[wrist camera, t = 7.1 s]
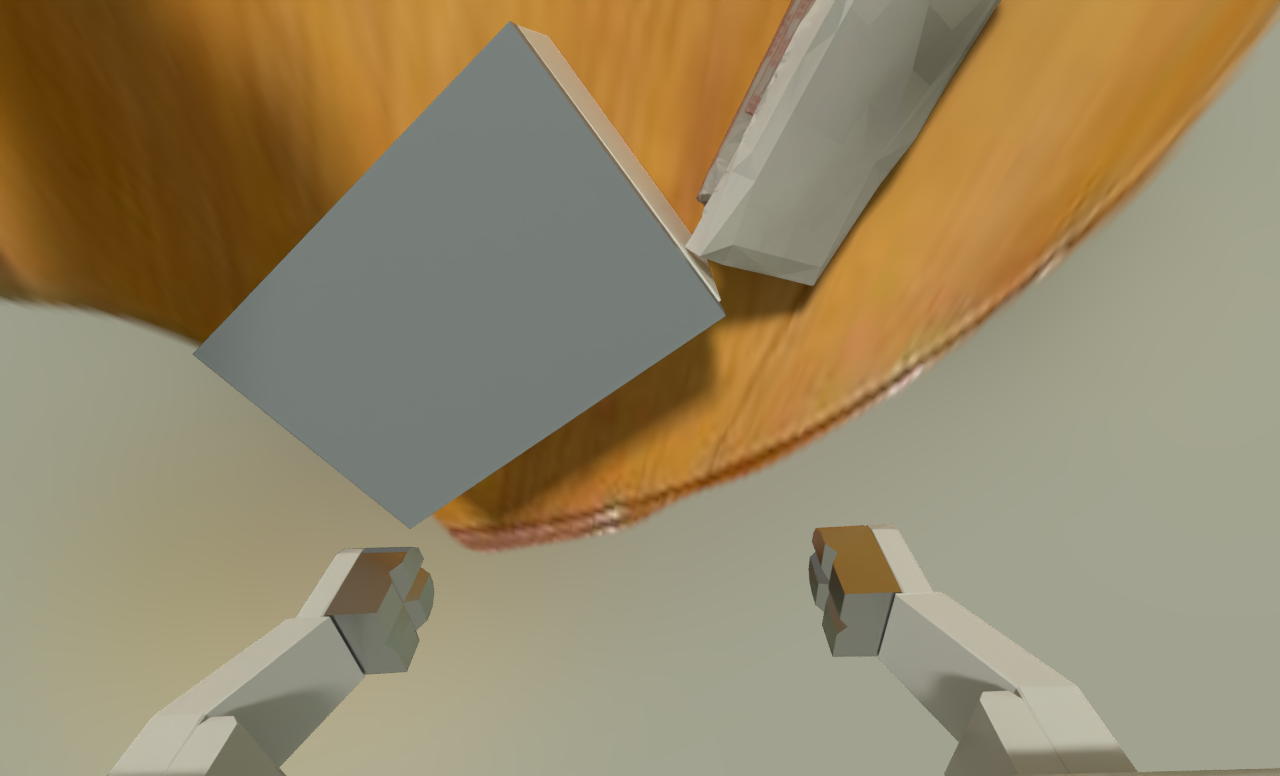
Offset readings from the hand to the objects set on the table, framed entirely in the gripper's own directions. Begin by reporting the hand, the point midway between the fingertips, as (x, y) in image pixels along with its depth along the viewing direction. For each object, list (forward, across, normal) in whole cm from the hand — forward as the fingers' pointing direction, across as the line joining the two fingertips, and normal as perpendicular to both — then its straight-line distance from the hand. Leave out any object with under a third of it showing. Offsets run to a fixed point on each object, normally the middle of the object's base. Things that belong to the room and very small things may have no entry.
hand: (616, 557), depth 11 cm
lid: (+16, +13, -4) cm, 21 cm away
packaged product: (+24, -14, -5) cm, 28 cm away
